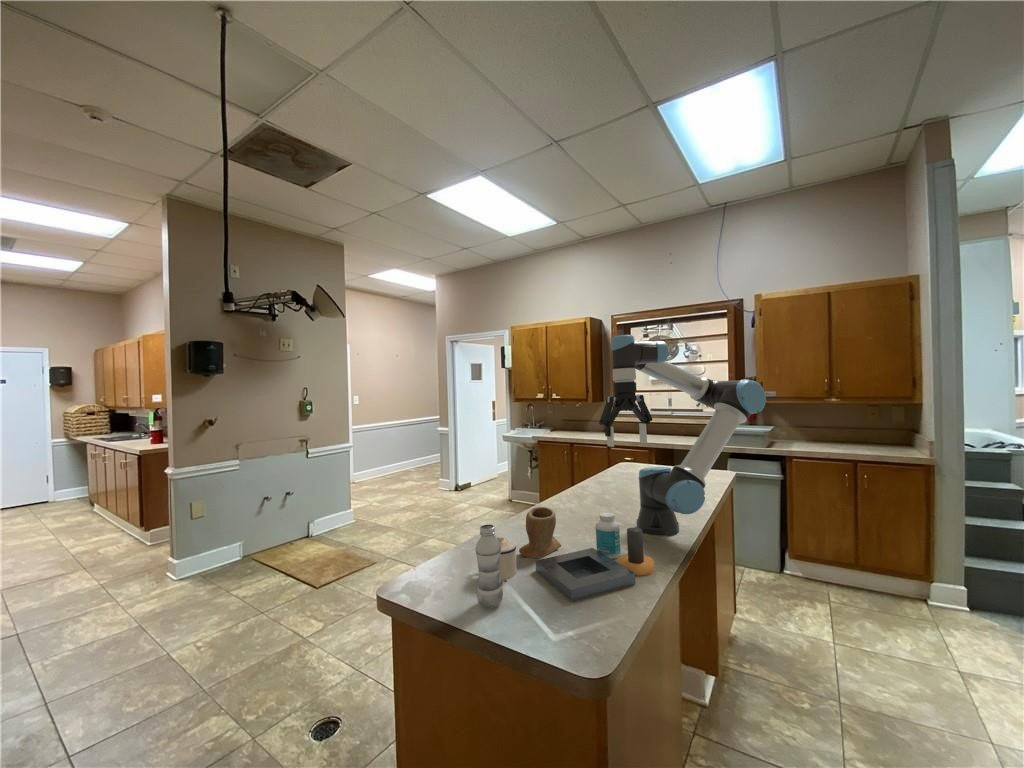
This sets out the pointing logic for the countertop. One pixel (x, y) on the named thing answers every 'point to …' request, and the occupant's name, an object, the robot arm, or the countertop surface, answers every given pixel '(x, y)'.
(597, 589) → the grey square socket block
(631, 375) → the robot arm
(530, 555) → the stone cup
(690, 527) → the countertop surface
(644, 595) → the countertop surface
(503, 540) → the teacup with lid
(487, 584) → the plastic bottle
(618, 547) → the pill bottle
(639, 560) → the peg on round base
